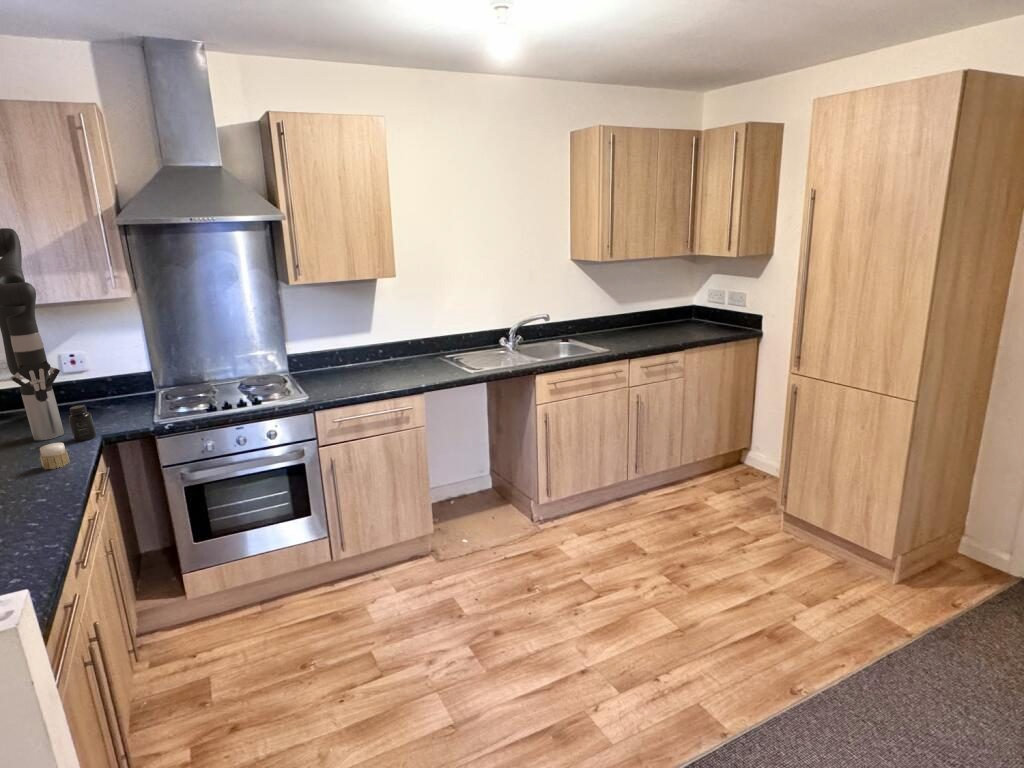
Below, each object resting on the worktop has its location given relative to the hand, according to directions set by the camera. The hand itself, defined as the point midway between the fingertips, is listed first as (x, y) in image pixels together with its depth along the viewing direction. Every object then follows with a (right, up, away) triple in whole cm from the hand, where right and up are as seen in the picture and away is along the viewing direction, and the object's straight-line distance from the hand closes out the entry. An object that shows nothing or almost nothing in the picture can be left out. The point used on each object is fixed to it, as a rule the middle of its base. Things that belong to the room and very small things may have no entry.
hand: (42, 401), depth 196 cm
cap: (+1, -19, +4) cm, 20 cm away
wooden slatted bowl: (+1, -21, +4) cm, 21 cm away
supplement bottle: (-6, -15, +28) cm, 32 cm away
